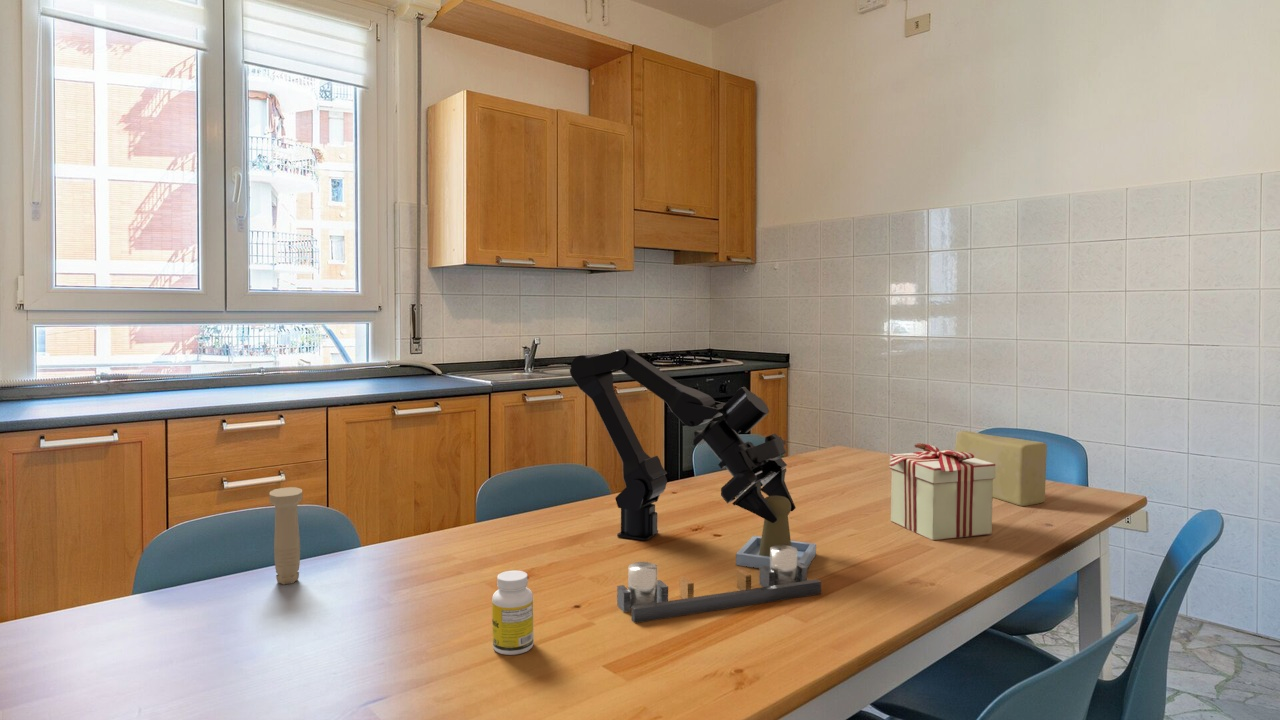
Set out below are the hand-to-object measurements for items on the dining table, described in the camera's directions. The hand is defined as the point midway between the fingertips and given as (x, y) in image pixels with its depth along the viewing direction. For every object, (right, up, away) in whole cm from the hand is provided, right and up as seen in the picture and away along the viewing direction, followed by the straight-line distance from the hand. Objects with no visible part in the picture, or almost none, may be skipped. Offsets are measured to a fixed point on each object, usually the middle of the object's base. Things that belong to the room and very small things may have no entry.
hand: (785, 515), depth 134 cm
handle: (-84, -9, -12) cm, 86 cm away
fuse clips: (-14, -9, -18) cm, 24 cm away
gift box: (+36, -8, +21) cm, 42 cm away
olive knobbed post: (-1, -8, +1) cm, 8 cm away
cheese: (+62, -6, +52) cm, 81 cm away
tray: (-1, -8, +1) cm, 8 cm away
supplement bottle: (-43, -10, -35) cm, 57 cm away
